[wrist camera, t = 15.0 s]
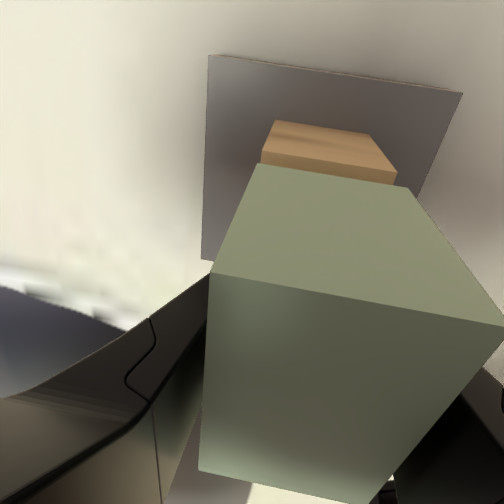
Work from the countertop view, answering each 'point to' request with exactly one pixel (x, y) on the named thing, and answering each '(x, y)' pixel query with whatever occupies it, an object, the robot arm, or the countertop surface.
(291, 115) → the grey baseplate
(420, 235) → the sage brick
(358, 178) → the oak brick
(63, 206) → the countertop surface
